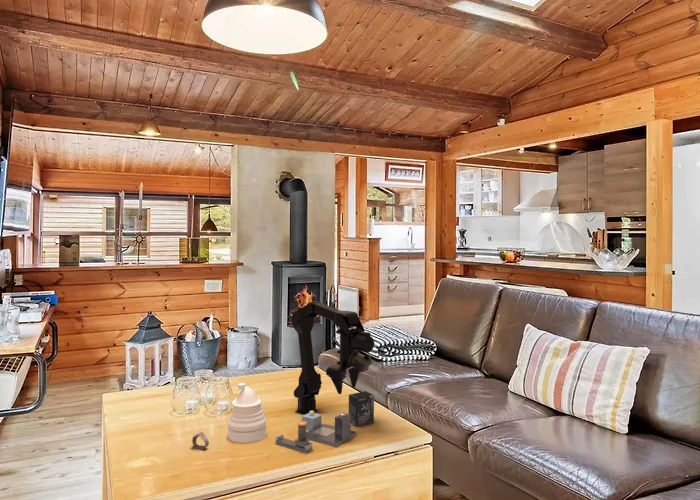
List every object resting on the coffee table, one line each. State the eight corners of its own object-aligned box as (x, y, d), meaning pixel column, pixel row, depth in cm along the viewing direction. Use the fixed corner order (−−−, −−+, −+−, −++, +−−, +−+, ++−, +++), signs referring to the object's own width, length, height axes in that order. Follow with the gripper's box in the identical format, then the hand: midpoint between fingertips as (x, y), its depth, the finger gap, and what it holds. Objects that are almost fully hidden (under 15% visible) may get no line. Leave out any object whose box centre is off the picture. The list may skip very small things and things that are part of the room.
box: (356, 427, 184) (356, 398, 184) (348, 422, 189) (348, 394, 188) (374, 423, 188) (374, 394, 188) (365, 418, 193) (365, 390, 193)
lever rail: (275, 443, 169) (275, 437, 169) (281, 440, 172) (281, 434, 172) (306, 453, 162) (306, 446, 162) (312, 449, 164) (312, 443, 164)
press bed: (302, 437, 174) (302, 411, 174) (323, 426, 184) (323, 401, 184) (336, 447, 167) (336, 419, 166) (356, 435, 177) (356, 409, 176)
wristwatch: (197, 444, 169) (197, 429, 169) (211, 448, 166) (211, 432, 166) (189, 448, 166) (189, 432, 166) (203, 452, 163) (203, 436, 163)
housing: (301, 428, 183) (301, 412, 183) (310, 424, 187) (310, 408, 187) (313, 431, 180) (313, 414, 180) (321, 427, 184) (321, 410, 184)
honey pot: (233, 445, 168) (233, 391, 167) (223, 432, 179) (223, 381, 179) (271, 438, 174) (271, 385, 173) (259, 426, 185) (259, 376, 184)
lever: (294, 444, 165) (294, 422, 164) (300, 441, 167) (300, 419, 167) (304, 447, 162) (304, 425, 162) (310, 444, 165) (310, 422, 165)
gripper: (353, 356, 171) (352, 402, 172) (380, 345, 187) (379, 388, 188) (325, 351, 177) (324, 395, 178) (354, 341, 193) (353, 382, 194)
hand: (346, 390), depth 184 cm, fingers open, 9 cm apart
